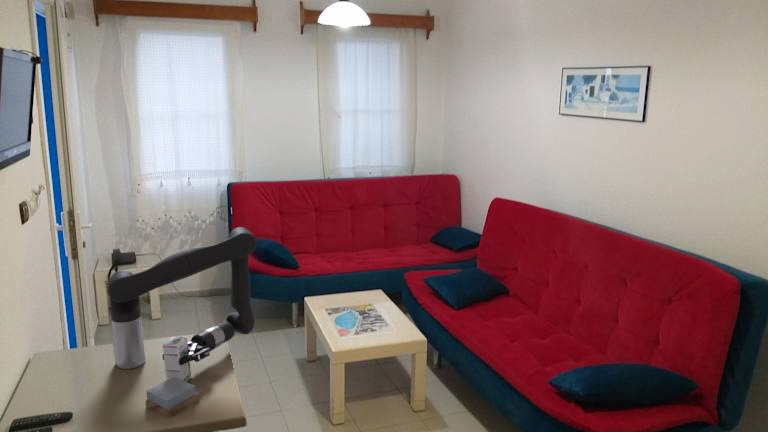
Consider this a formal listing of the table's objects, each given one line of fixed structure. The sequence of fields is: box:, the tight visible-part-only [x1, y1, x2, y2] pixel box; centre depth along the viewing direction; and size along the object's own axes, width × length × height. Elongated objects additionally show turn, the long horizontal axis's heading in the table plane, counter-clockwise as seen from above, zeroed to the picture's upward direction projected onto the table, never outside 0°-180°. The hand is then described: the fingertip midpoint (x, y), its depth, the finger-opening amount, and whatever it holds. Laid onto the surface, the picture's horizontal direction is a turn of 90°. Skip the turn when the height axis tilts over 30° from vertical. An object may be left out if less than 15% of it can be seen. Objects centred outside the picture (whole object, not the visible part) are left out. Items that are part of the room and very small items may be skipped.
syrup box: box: [162, 336, 192, 382], centre depth 194 cm, size 6×6×14 cm
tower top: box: [145, 377, 196, 409], centre depth 181 cm, size 10×10×3 cm
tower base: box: [144, 391, 200, 418], centre depth 182 cm, size 11×11×3 cm
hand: (171, 360), depth 191 cm, fingers closed on syrup box, 6 cm apart
